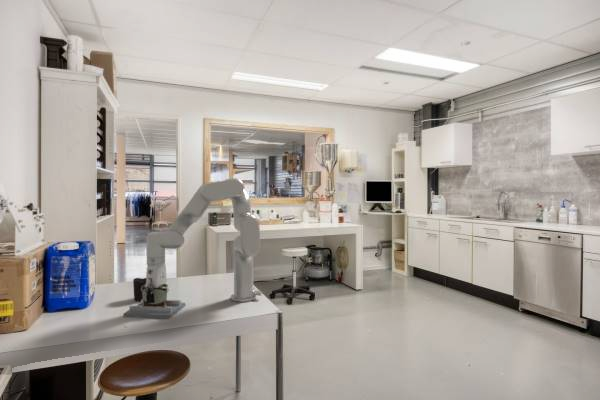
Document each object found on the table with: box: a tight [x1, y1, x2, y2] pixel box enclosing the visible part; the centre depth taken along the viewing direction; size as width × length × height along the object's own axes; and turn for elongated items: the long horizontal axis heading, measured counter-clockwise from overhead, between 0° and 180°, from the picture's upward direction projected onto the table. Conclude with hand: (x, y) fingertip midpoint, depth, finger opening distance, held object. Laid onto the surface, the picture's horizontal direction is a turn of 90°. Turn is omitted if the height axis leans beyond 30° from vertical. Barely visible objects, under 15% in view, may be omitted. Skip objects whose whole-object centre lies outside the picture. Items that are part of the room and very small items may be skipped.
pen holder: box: [132, 277, 146, 303], centre depth 168 cm, size 9×9×10 cm
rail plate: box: [123, 299, 186, 319], centre depth 151 cm, size 20×16×4 cm
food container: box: [141, 283, 170, 307], centre depth 152 cm, size 12×6×10 cm, turn 84°
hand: (155, 299), depth 151 cm, fingers open, 9 cm apart
